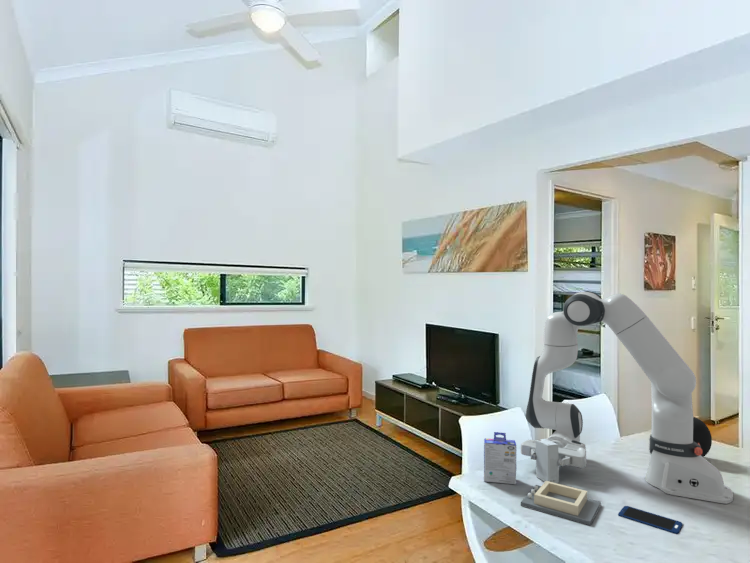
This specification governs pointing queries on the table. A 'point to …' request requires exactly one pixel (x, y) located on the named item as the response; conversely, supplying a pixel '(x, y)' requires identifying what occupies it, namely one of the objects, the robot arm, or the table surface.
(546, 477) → the skincare box
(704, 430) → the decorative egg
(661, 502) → the table surface
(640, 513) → the cell phone
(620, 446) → the table surface
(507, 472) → the ink cartridge box
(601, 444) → the table surface
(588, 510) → the socket dock
